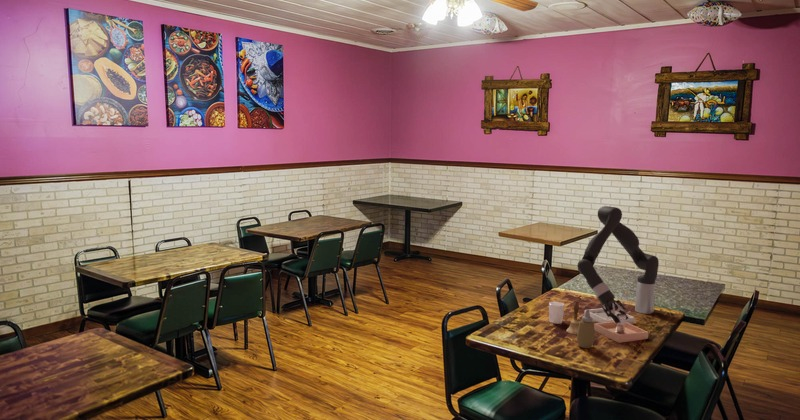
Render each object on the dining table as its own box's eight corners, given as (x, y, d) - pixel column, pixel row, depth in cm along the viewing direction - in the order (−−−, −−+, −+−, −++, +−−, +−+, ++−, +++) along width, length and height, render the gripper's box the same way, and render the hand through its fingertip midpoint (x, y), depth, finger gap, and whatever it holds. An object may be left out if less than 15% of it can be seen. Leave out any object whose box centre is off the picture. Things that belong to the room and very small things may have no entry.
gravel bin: (610, 313, 317) (610, 307, 317) (633, 323, 300) (634, 317, 300) (584, 316, 311) (584, 310, 310) (606, 326, 294) (607, 320, 294)
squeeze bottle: (573, 343, 270) (576, 307, 267) (589, 343, 271) (592, 306, 268) (580, 349, 262) (582, 312, 259) (597, 349, 263) (599, 312, 260)
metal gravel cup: (620, 330, 286) (621, 313, 285) (626, 333, 282) (628, 315, 281) (613, 331, 285) (614, 313, 283) (619, 334, 281) (621, 316, 279)
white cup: (563, 320, 303) (564, 302, 302) (562, 325, 296) (564, 306, 294) (548, 318, 306) (549, 300, 304) (547, 323, 298) (548, 304, 297)
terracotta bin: (621, 326, 295) (622, 320, 295) (647, 338, 278) (648, 331, 278) (593, 330, 289) (594, 323, 288) (618, 342, 272) (619, 335, 272)
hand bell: (564, 328, 290) (566, 298, 288) (580, 329, 290) (582, 299, 288) (568, 334, 282) (570, 303, 280) (585, 335, 282) (587, 304, 279)
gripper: (601, 292, 282) (621, 320, 275) (615, 287, 291) (635, 314, 284) (590, 299, 287) (610, 327, 280) (605, 294, 296) (624, 321, 289)
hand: (622, 320), depth 282 cm, fingers open, 8 cm apart
